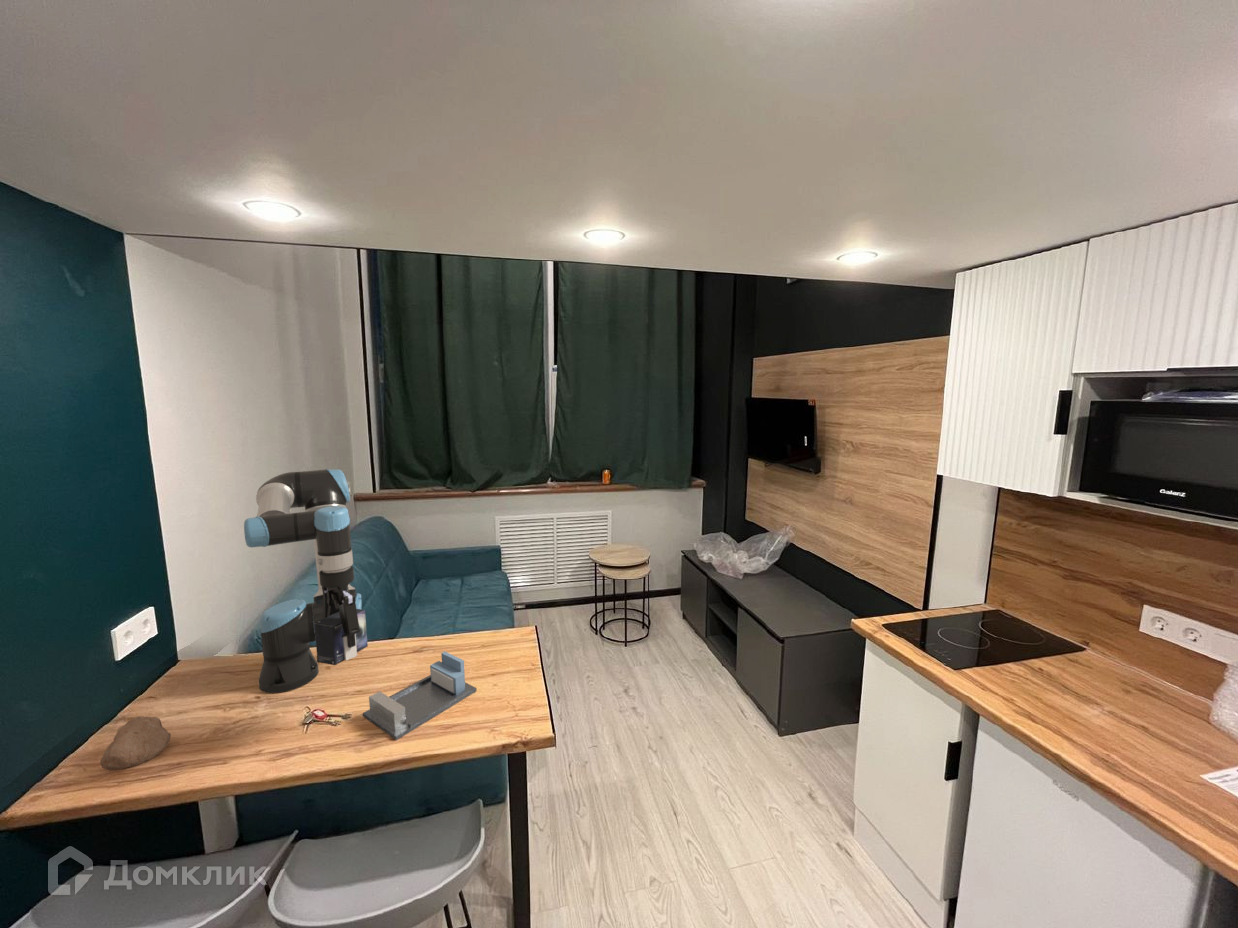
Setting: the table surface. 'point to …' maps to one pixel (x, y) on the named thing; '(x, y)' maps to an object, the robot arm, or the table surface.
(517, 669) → the table surface
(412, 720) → the vise
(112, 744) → the stone
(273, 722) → the table surface
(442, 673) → the sliding jaw
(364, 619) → the small box
